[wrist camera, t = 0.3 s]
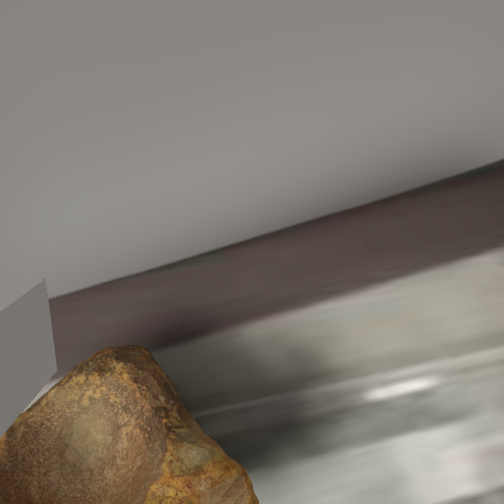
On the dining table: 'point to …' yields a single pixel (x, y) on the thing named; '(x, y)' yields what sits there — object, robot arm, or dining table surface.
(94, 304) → the dining table surface
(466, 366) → the dining table surface
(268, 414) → the dining table surface
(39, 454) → the rough brown rock
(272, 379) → the dining table surface
